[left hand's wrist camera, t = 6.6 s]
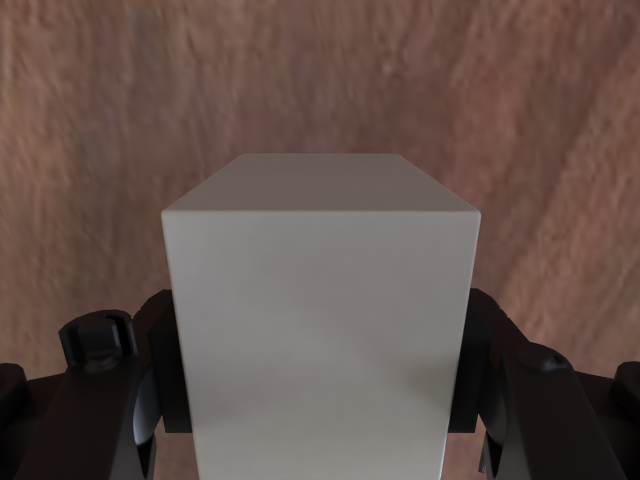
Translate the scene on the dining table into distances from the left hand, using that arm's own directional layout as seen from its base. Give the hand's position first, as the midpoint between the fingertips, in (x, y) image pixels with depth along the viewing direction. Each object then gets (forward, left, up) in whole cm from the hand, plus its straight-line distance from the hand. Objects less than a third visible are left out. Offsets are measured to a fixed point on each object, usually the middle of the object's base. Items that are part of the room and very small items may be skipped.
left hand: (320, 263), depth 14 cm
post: (+29, +6, -1) cm, 30 cm away
